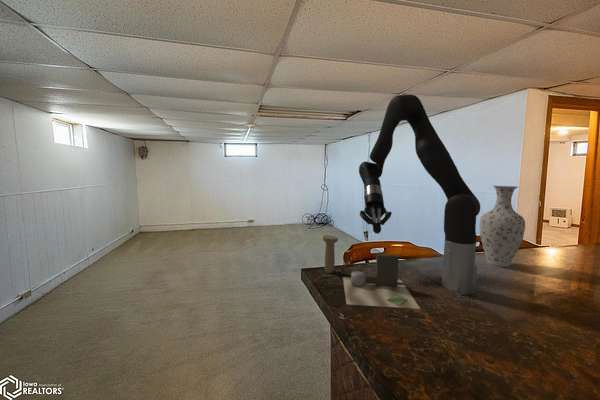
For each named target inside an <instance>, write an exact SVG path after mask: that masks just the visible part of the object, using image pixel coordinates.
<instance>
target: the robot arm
mask: <svg viewBox="0 0 600 400" xmlns="http://www.w3.org/2000/svg"><path fill="white" fill-rule="evenodd" d="M402 121H406V122H407V123H408V125H410V126H409V127H410V128H411V129H412V131H413V133H414V141H415V143H414V145H415V146H414V147H415V148H414V149H415V153H416V156H417V158H418V159H419V161H420V163H421V165H422V166H423V168H424V170H425V171H426V172H427V173H428V174H429V176H430V177H431V178H432V179H433V180H434V181H435V182H436V183H437V184H438V185H439V187H440V188H441V190H442V192H443V193H444V195H445V197H446V199H447V201H446V203H445V206H444V215H443V233H444V243H443V244H444V246H443V247H444V248H443V261H442V262H443V263H442V272H441V273H442V275H441V277H442V278H441V285H442V286H443V287H444V288H446V289H448V290H451V291H455V292H457V293H458V294H459V296H460V295H462V296H469V295H471V294H473V295H474V294H476V283H477V274H478V266H477V265H476V263H475V261H476V249H477V240H478V239H477V237H478V236H477V232H476V230H477V229H476V228H477V216H478V215H479V214H480V211H481V203H480V201H479V199H478V198H477V196H476V195H475V193H473V191H472V190H471V189H470V187H469V186H468V185H467V184H466V182H465V181H464V179H463V178H462V176H461V174H460V172H459V169H458V167H457V165H456V163H455V162H454V160H453V157H452V156H451V154H450V153H449V151H448V149H447V148H446V146H445V144H444V143H443V141H442V139H441V138H440V136H439V135H438V132H437V131H436V130H435V128H434V126H433V124H432V122H431V121H430V119H429V117H428V114H427V112H426V110H425V107H424V105H423V104H422V100H420V98H419V97H418V96H417V95H415V94H401V95H395V96H393V97H392V98H391V99H390V101H389V103H388V105H387V108H386V111H385V114H384V118H383V121H382V125H381V127H380V130H379V134H378V137H377V139H376V141H375V143H374V146H373V147H372V149H371V152H370V153H369V159H370V161H371V162H370V161H362V162H361V163H360V164H359V166H358V174H359V176H360V178H361V181H362V183H363V186H364V187H363V189H364V194H363V195H364V196H363V199H364V206H365V207H364V209H363V210H360V211H359V216H360V218H362V219H363V221H365V222H366V224H368V225H370V226H372V232H373V233H374V234H376V235H379V234H380V233H381V231H382V226H384V225H385V224H386V222H388V221H389V220H390V218H391V217H392V211H388V210H387V209H386V207H385V202H384V194H383V190H382V185H381V180H380V178H381V177H382V175H383V172H384V166H385V162H386V159H387V157H388V156H389V154H390V152H391V150H392V147H393V142H394V133H395V130H396V128H397V127H398V125H399V123H400V122H402ZM382 217H383V218H382Z"/></svg>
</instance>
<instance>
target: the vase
mask: <svg viewBox="0 0 600 400" xmlns="http://www.w3.org/2000/svg"><path fill="white" fill-rule="evenodd" d="M492 187H493V188H494V189H495V193H496V202H495V205H494V207H492V209H491V210H488V211H487V212H484V213H483V214H482V215H481V216H480V220H479V238H480V240H481V243H482V248H483V250H484V251H483V252H484V254H485V255H484V256H485V259H486V264H487V265H490V266H493V267H496V266H497V267H496V268H502V267H508V268H510V267H511V263H512V261H513V259H514V257H515V255H516V253H517V252H518V250H519V249H520V246H521V244H522V242H523V240H524V235H525V230H526V221H525V218H524V217H523V216H522V215H521V214H519V213H517V212H516V211H515V209H514V208H513V205H512V198H513V194H514V192H515V190H516V189H517V188H519V186H514V185H492Z"/></svg>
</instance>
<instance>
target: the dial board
mask: <svg viewBox="0 0 600 400" xmlns="http://www.w3.org/2000/svg"><path fill="white" fill-rule="evenodd" d="M342 281H343V288H344V295H345V302H346V305H347V306H348V305H351V306H363V307H364V306H367V307H368V306H369V307H384V308H399V309H401V308H402V309H415V310H416V309H417V310H421V307H420V306H419V305H418V303H417V301H416V300H415V298H414V297H413V296H412V294H411V293H410V291H409V290H408V288H407V287H406V285H397V286H379V285H376V284H367V283H366V285H365V286H354V285H352V284H351V276H350V277H349V276H342ZM397 282H403V281H402V280H401V279H398V280H397Z"/></svg>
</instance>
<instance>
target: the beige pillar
mask: <svg viewBox="0 0 600 400" xmlns="http://www.w3.org/2000/svg"><path fill="white" fill-rule="evenodd" d="M338 239H339V238H338V236H335V235H330V234H328V235H327V234H326V235H322V240H323V242H324V243H325V249H324V251H325V252H324V270H325V273H326V274H327V273H328V274H332V273H334V271H335V270H334V269H335V258H336V257H335V244H336V243H337V242H338Z"/></svg>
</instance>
